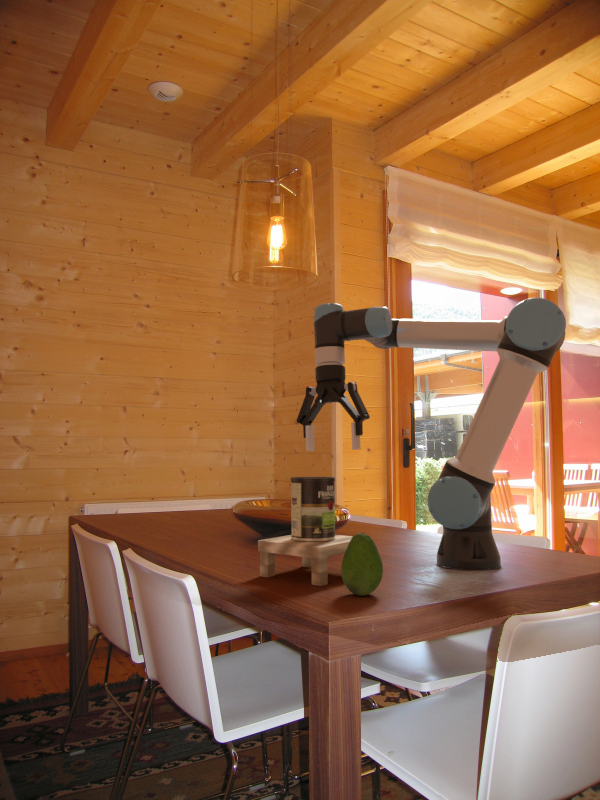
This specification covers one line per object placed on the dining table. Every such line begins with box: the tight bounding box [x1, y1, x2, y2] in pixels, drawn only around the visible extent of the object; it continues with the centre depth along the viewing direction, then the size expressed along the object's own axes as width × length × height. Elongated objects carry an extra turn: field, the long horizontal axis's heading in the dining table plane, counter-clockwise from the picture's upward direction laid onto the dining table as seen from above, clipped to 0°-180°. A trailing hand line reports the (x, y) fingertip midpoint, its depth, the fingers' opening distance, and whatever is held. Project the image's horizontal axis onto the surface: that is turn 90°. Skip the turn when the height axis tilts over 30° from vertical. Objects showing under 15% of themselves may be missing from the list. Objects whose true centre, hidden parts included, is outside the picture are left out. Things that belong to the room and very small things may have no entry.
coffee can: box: [290, 476, 336, 542], centre depth 141 cm, size 10×10×14 cm
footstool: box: [257, 534, 354, 587], centre depth 140 cm, size 18×18×8 cm
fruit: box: [340, 532, 384, 597], centre depth 120 cm, size 8×8×12 cm
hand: (332, 450), depth 152 cm, fingers open, 13 cm apart
